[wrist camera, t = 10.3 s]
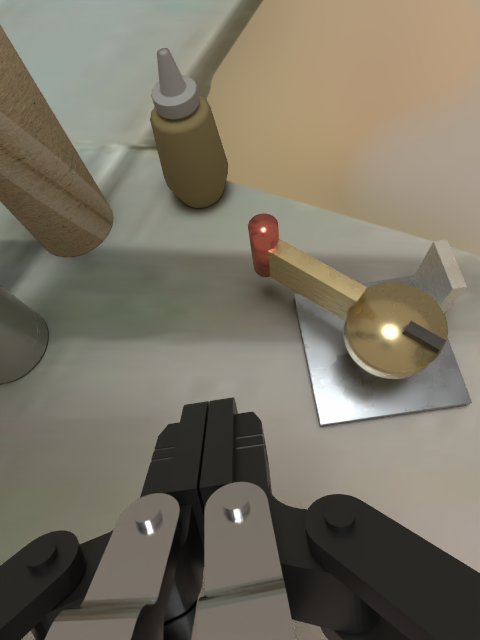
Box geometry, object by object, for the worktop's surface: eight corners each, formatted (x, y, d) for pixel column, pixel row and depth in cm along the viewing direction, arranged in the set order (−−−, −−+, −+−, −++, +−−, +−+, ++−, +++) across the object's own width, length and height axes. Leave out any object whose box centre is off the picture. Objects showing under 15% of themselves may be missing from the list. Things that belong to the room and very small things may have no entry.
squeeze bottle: (236, 208, 51) (212, 70, 35) (175, 221, 51) (122, 90, 35) (226, 162, 54) (200, 17, 38) (169, 175, 54) (118, 36, 38)
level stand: (319, 426, 39) (327, 408, 31) (293, 299, 45) (295, 259, 37) (478, 403, 38) (524, 379, 30) (430, 278, 44) (459, 232, 36)
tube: (126, 227, 51) (1, 12, 29) (59, 271, 50) (-131, 78, 27) (91, 183, 55) (-44, -36, 33) (28, 222, 54) (-161, 19, 31)
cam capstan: (232, 288, 40) (222, 251, 34) (279, 233, 42) (277, 188, 36) (407, 399, 33) (432, 377, 28) (451, 327, 36) (484, 292, 30)
